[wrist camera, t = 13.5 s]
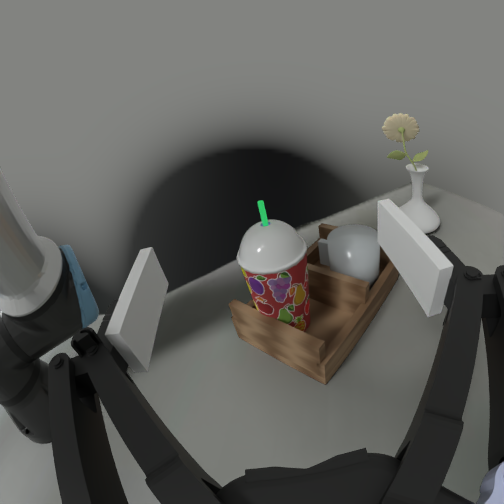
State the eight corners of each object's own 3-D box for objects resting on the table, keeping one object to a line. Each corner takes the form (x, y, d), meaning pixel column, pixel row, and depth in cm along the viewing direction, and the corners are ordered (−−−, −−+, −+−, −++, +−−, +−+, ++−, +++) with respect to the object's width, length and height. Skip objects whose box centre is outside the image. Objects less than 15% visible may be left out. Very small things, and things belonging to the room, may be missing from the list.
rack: (238, 337, 45) (225, 302, 41) (323, 256, 58) (319, 222, 54) (325, 384, 34) (323, 350, 31) (398, 277, 47) (400, 241, 43)
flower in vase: (442, 218, 59) (443, 112, 46) (435, 243, 52) (439, 120, 39) (392, 210, 67) (386, 108, 54) (379, 232, 60) (372, 116, 47)
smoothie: (305, 301, 46) (285, 180, 36) (325, 338, 39) (310, 205, 29) (254, 317, 46) (219, 199, 35) (267, 357, 39) (227, 229, 28)
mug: (385, 276, 46) (387, 230, 42) (365, 307, 42) (366, 258, 37) (334, 261, 53) (330, 218, 48) (310, 287, 49) (304, 241, 44)
